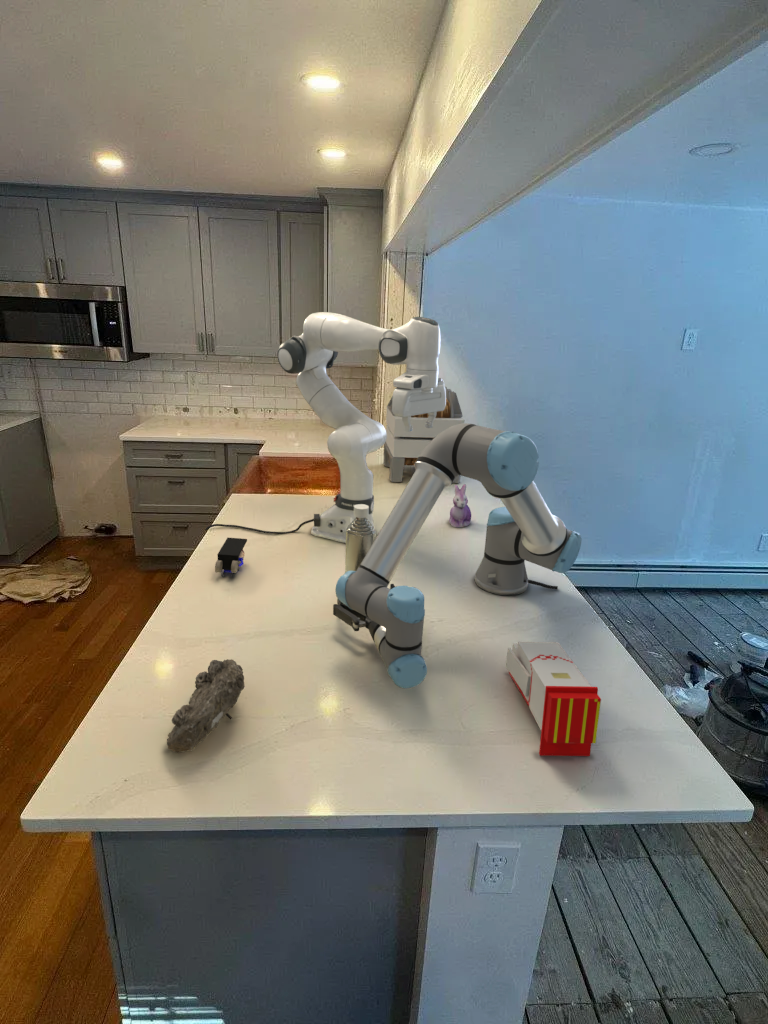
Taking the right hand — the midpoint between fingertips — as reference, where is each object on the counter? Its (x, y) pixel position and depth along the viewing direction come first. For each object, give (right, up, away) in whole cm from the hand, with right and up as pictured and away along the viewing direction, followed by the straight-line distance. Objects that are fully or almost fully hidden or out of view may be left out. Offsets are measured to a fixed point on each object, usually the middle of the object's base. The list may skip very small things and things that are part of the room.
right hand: (366, 590), depth 145 cm
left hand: (+14, +44, +15) cm, 48 cm away
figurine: (+33, +16, +66) cm, 76 cm away
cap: (-1, +21, +1) cm, 21 cm away
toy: (+37, -19, -30) cm, 51 cm away
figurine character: (-40, +3, +22) cm, 46 cm away
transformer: (+22, +39, +130) cm, 137 cm away
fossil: (-28, -19, -37) cm, 50 cm away
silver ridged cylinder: (-2, -3, +10) cm, 10 cm away
